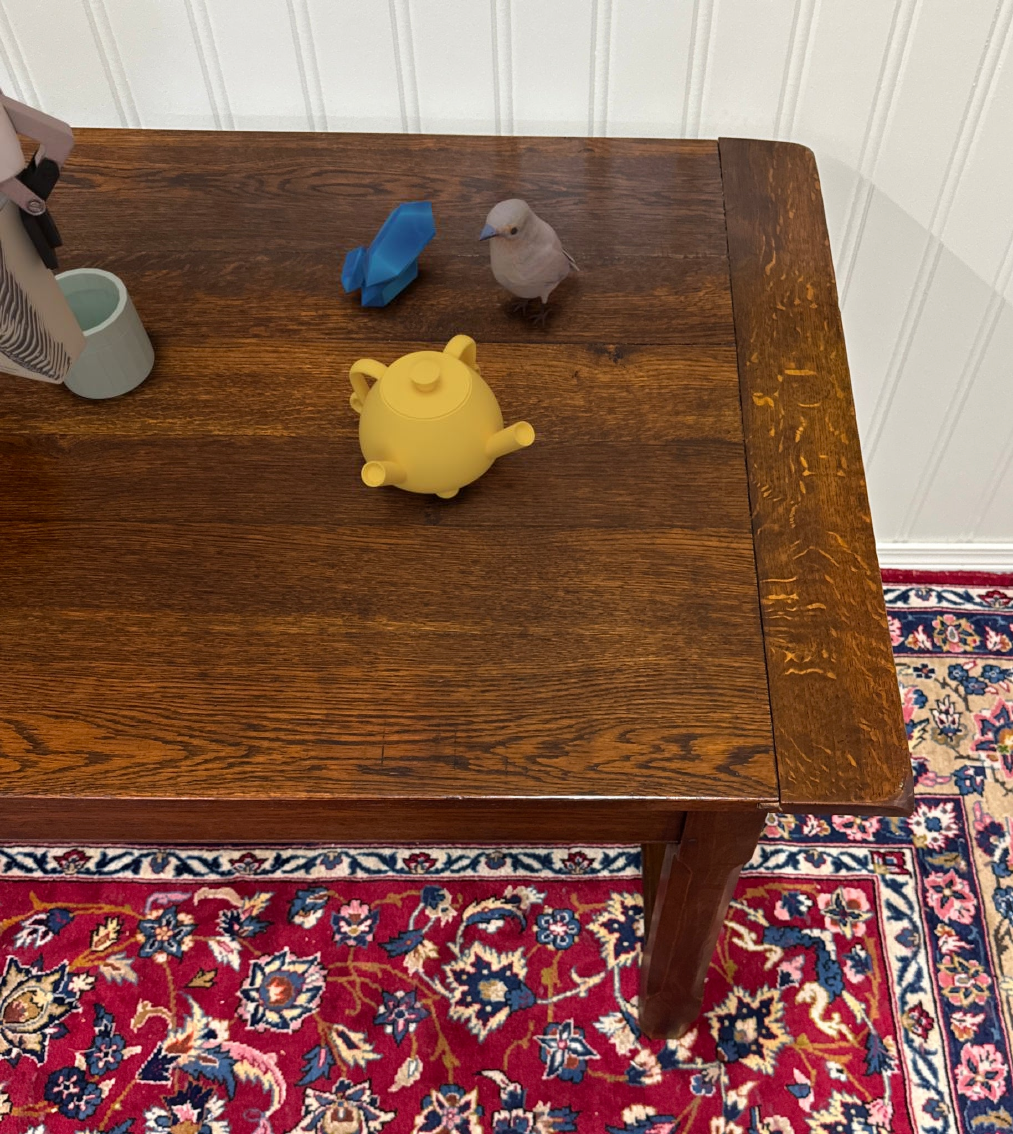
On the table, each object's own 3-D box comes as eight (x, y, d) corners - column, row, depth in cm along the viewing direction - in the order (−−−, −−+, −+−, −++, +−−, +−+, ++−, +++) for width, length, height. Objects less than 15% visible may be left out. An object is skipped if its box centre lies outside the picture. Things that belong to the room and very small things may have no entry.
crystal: (313, 257, 93) (384, 164, 95) (340, 311, 101) (405, 223, 103) (376, 287, 91) (447, 191, 93) (399, 339, 99) (463, 250, 101)
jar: (63, 407, 93) (26, 347, 86) (60, 340, 97) (25, 278, 90) (158, 388, 94) (129, 327, 87) (151, 323, 98) (123, 260, 91)
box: (-3, 373, 69) (-105, 224, 57) (28, 328, 71) (-65, 175, 60) (65, 387, 68) (-24, 238, 57) (95, 341, 70) (13, 189, 59)
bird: (464, 338, 97) (456, 212, 84) (555, 267, 102) (561, 137, 89) (501, 363, 95) (498, 239, 82) (592, 289, 100) (603, 161, 87)
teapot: (377, 541, 84) (359, 463, 75) (340, 423, 91) (320, 337, 82) (536, 497, 87) (538, 416, 77) (489, 386, 93) (486, 297, 84)
